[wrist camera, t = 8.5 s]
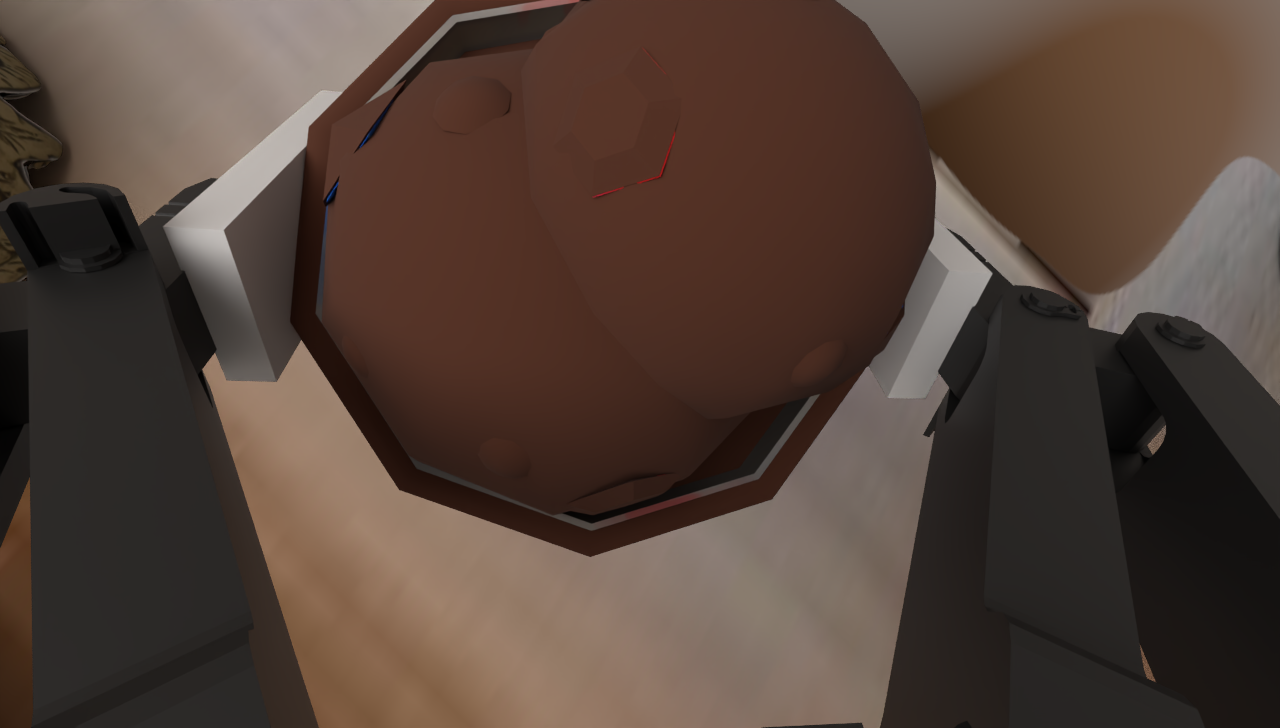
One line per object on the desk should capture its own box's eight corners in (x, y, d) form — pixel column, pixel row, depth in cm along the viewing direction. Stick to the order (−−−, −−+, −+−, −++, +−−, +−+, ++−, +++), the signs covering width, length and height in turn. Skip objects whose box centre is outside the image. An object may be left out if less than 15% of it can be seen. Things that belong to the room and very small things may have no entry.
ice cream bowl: (622, 117, 21) (768, -572, 7) (796, 381, 21) (1342, 272, 7) (350, 271, 20) (-277, -205, 5) (539, 560, 19) (485, 978, 5)
